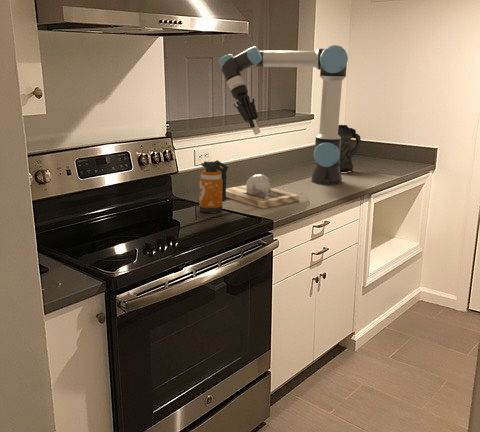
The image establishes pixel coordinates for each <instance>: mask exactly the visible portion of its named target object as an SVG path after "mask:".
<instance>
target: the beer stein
mask: <svg viewBox="0 0 480 432" xmlns="http://www.w3.org/2000/svg"><path fill="white" fill-rule="evenodd" d="M338 135H339V136H340V137H341V150H340V163H339V168H340V172H348V171H352V172H353V169H354V163H353V160H352V157H353V156H354V155H355V154H356V153H357V152H358V151H359V149H360V146H361V144H362V140H361V136H360V134H358V133H357V131H356V129H355V128H353V127H349V126H348V125H347V124H339V126H338ZM352 139H355V144H354V146H353V147H352Z"/></svg>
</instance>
